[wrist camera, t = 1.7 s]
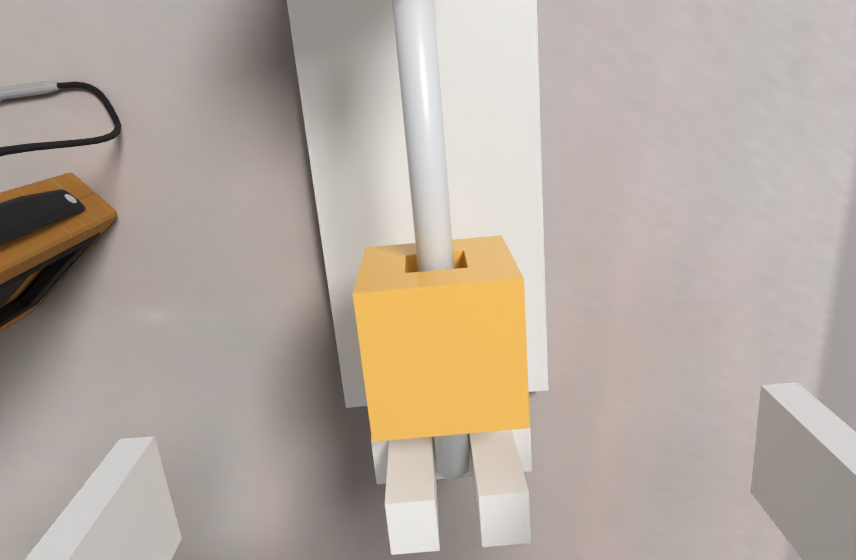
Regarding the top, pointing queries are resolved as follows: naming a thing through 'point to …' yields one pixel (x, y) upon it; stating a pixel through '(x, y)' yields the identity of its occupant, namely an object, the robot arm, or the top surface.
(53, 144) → the multimeter
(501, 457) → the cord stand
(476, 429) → the cube with square hole
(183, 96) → the top surface
